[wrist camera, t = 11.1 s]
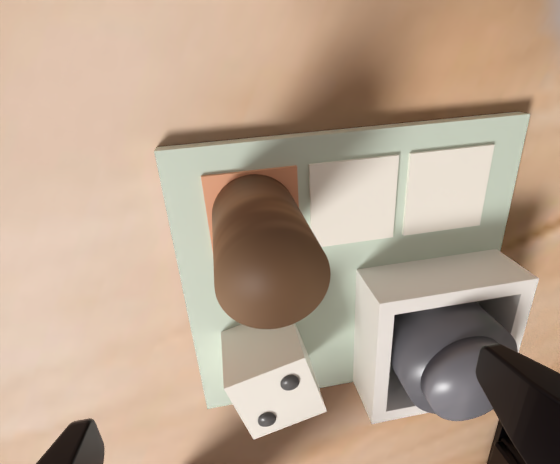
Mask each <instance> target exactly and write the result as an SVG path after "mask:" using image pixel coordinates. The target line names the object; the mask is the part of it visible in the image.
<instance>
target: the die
mask: <svg viewBox="0 0 560 464" xmlns="http://www.w3.org/2000/svg"><path fill="white" fill-rule="evenodd" d="M221 344H222V364H223V384H224V390H225V392H226V394H227V395H228V397H229V399H230V400H231V402H232V404H233V406H234V407H235V409H236V411H237V412H238V414H239V416H240V417H241V419H242V421H243V423H244V424H245V426H246V428H247V429H248V431H249V433H250V434H251V436H252V438H253V440H254V439H257V438H259V437H262V436H265V435H267V434H270V433H272V432H275V431H278V430H280V429H283V428H285V427H288V426H291V425H293V424H296V423H298V422H301V421H303V420H306V419H309V418H311V417H314V416H316V415H319V414H322V413H324V412H327V410H326V407H325V404H324V401H323V398H322V395H321V392H320V389H319V386H318V383H317V380H316V377H315V374H314V371H313V368H312V365H311V362H310V359H309V356H308V353H307V351H306V348H305V346H304V343H303V341H302V339H301V336H300V334H299V331H298V329H297V326H296V324H295V323H294V324H292V325H289V326H286V327H282V328H277V329H256V328H252V327H248V326H245V325H242V324H241V325H238V326H235V327H233V328H230V329H228V330H225V331H222V332H221Z"/></svg>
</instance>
